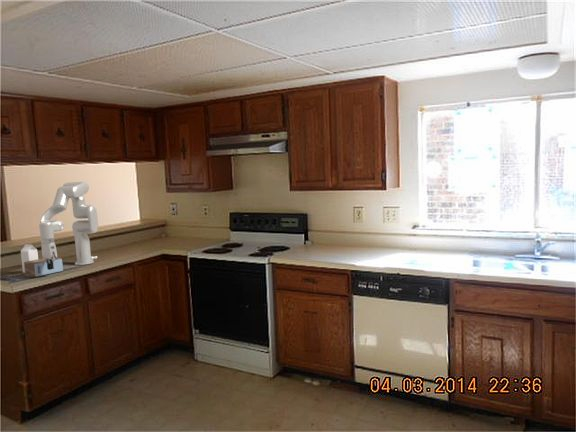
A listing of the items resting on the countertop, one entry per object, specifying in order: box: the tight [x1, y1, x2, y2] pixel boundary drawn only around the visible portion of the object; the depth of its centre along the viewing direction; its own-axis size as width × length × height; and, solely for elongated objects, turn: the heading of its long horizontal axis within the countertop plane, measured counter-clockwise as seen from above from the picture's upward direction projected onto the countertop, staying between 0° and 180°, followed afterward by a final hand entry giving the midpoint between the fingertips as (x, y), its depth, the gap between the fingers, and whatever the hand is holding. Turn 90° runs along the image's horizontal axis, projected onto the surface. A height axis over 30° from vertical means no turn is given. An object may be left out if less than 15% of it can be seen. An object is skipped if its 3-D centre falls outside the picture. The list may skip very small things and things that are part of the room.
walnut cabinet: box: [24, 257, 62, 278], centre depth 296 cm, size 18×12×9 cm, turn 148°
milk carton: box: [20, 243, 39, 274], centre depth 302 cm, size 7×7×19 cm
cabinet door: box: [34, 258, 64, 277], centre depth 292 cm, size 18×2×8 cm, turn 147°
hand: (50, 269), depth 286 cm, fingers closed
